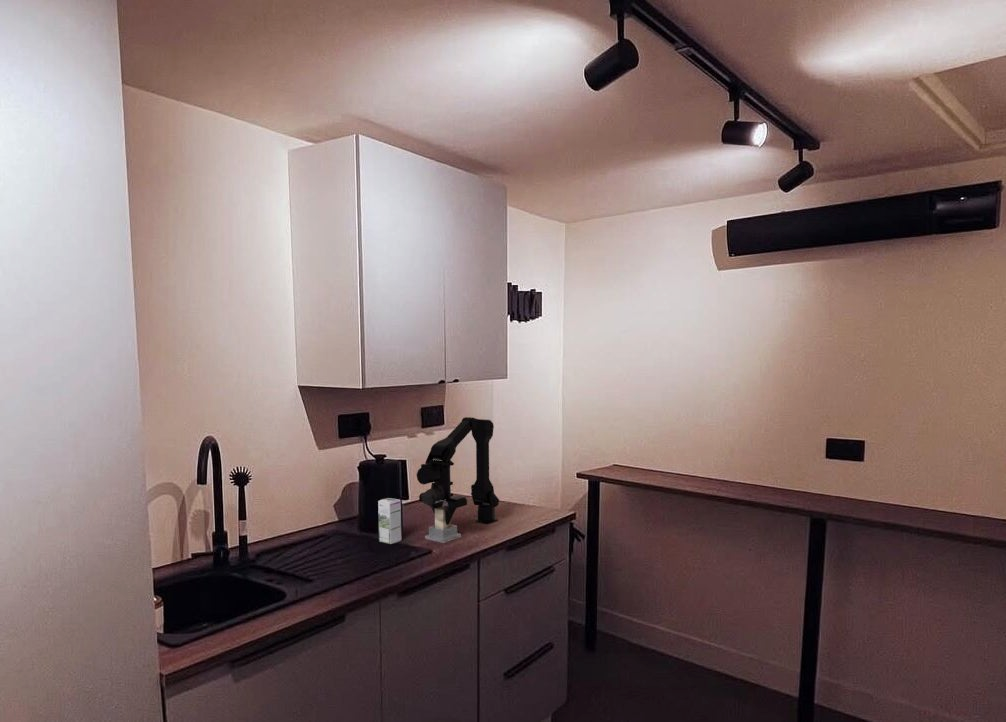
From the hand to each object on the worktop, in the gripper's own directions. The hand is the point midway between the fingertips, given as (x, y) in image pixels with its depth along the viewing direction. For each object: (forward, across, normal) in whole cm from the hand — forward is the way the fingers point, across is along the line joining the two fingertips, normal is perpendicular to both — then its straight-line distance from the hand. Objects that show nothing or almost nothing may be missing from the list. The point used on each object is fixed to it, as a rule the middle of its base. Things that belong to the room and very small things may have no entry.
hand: (443, 523), depth 215 cm
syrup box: (+5, -12, -14) cm, 19 cm away
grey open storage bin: (+5, 0, 0) cm, 5 cm away
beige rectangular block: (+2, 0, 0) cm, 2 cm away
